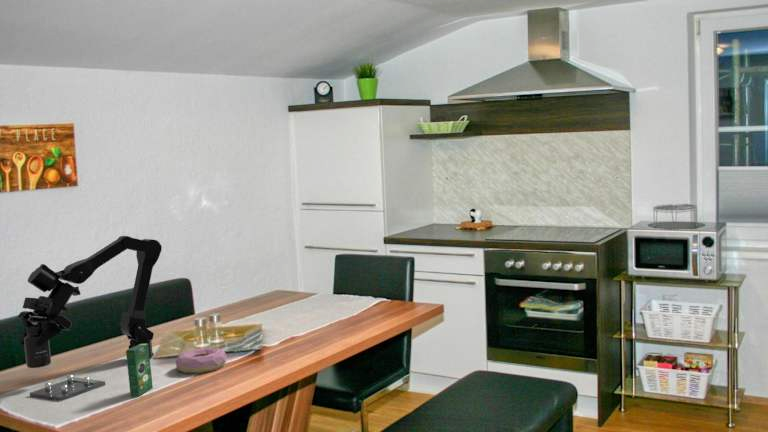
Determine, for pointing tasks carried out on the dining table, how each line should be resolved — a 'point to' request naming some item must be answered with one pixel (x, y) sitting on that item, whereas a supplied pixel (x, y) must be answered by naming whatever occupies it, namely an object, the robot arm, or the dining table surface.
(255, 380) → the dining table surface
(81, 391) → the chassis
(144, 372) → the coffee box
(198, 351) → the donut
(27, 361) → the supplement bottle
